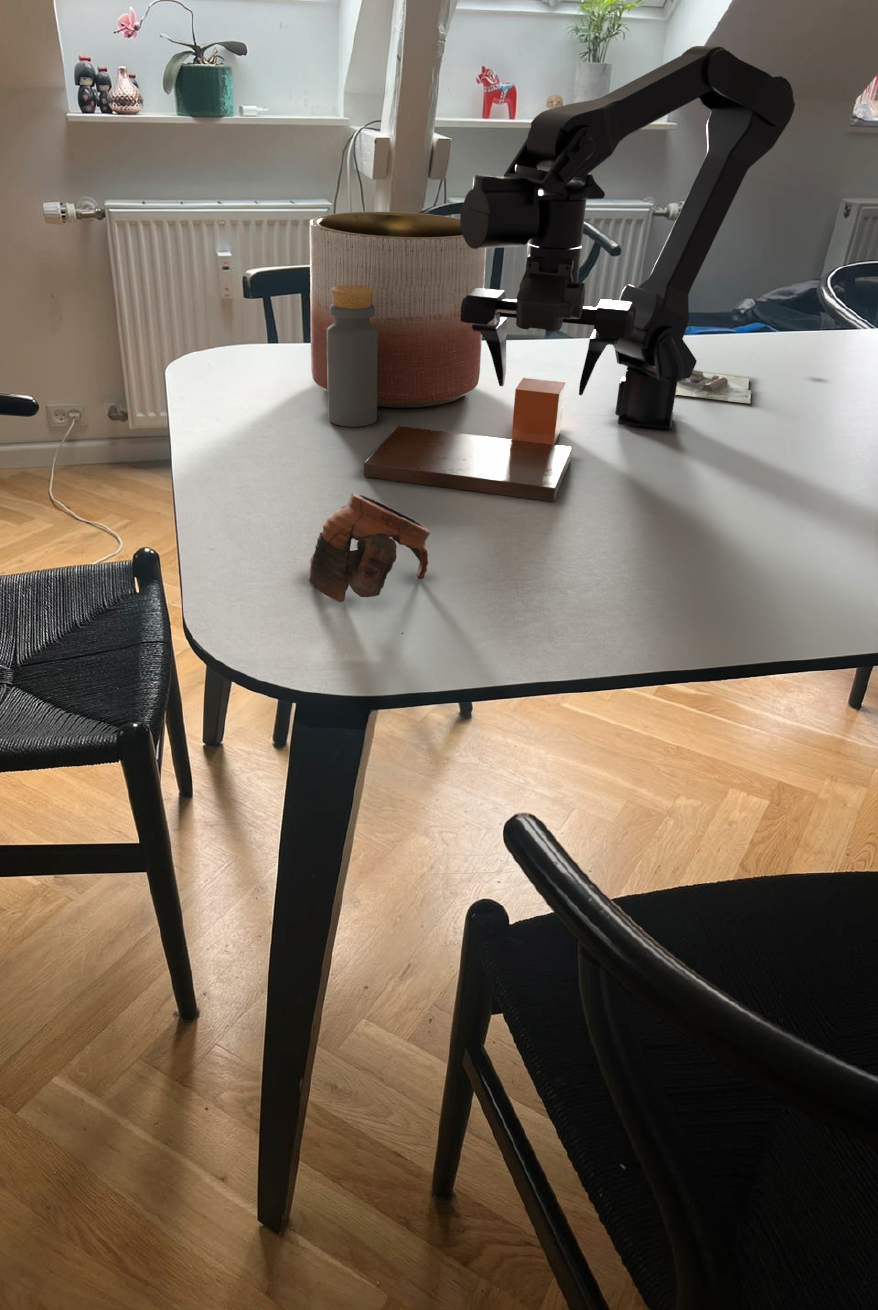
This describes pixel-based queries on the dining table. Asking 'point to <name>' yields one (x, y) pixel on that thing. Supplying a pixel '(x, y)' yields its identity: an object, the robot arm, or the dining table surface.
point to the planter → (401, 300)
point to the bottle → (352, 358)
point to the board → (470, 463)
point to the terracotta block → (538, 411)
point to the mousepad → (715, 387)
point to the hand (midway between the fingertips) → (541, 390)
